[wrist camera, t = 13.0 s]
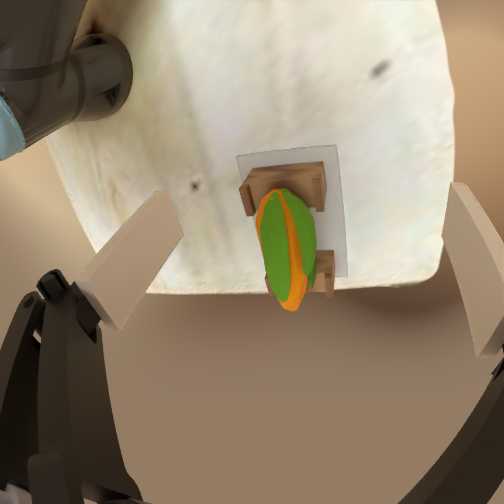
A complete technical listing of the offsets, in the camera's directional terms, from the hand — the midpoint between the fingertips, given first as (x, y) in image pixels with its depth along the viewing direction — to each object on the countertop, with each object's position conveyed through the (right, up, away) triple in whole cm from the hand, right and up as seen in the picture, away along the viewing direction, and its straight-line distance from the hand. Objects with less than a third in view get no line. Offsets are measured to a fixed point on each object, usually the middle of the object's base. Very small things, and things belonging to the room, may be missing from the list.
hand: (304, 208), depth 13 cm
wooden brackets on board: (+5, +3, +33) cm, 33 cm away
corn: (+4, -1, +28) cm, 29 cm away
